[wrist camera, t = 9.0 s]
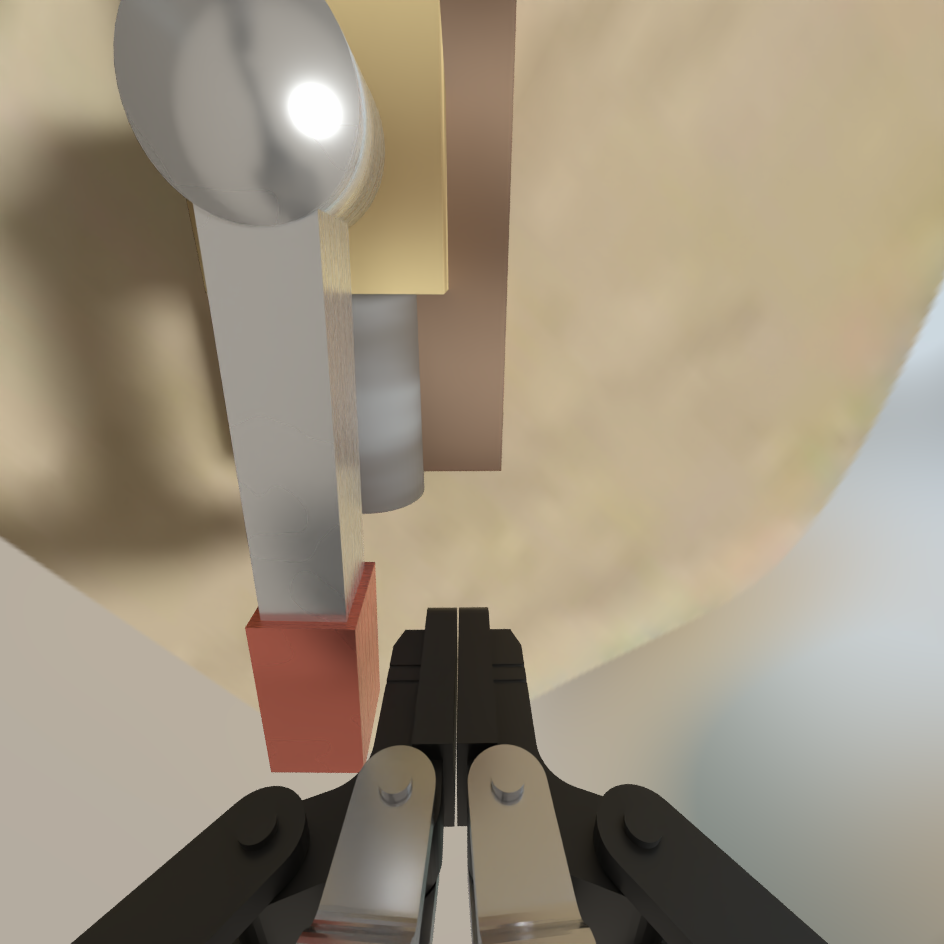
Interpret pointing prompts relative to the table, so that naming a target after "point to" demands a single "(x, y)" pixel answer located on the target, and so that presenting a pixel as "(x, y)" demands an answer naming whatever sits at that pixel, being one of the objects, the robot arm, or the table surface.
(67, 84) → the table surface
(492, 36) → the valve board
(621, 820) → the robot arm
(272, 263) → the valve lever
